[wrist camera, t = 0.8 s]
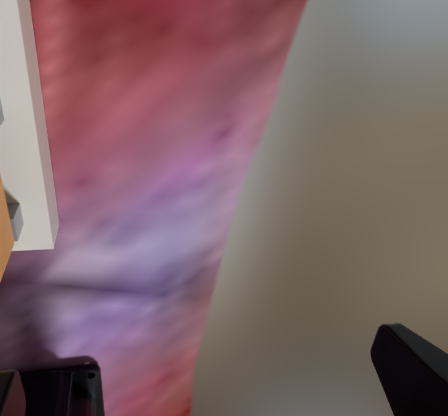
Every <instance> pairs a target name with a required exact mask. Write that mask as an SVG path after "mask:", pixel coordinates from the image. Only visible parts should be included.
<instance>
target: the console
mask: <svg viewBox="0 0 448 416" xmlns="http://www.w3.org/2000/svg"><path fill="white" fill-rule="evenodd" d="M0 174H1V179H2V184H3V189H4V193H5V198H6V203H7V208H8V213H9V218H10V223H11V228H12V233H13V238H14V242H15V243H14V246H13V249H12V251H22V250H41V249H54V245H55V241H56V236H57V232H58V227H59V218H58V211H57V203H56V196H55V188H54V181H53V173H52V166H51V158H50V151H49V143H48V136H47V128H46V121H45V114H44V106H43V99H42V91H41V84H40V76H39V69H38V61H37V54H36V46H35V39H34V31H33V24H32V17H31V9H30V2H29V0H0Z"/></svg>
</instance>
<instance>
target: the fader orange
mask: <svg viewBox="0 0 448 416" xmlns="http://www.w3.org/2000/svg"><path fill="white" fill-rule="evenodd" d="M14 243H15V242H14V238H13V233H12V228H11V223H10V218H9V213H8V208H7V203H6V198H5V193H4V189H3V184H2V179H1V174H0V282H1V279H2V276H3V273H4V271H5V268H6V265H7V262H8V260H9V257H10V254H11V251H12V249H13V246H14Z"/></svg>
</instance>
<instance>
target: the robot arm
mask: <svg viewBox="0 0 448 416" xmlns="http://www.w3.org/2000/svg"><path fill="white" fill-rule="evenodd" d="M371 359H372V362H373V365H374V367H375V369H376V372H377V374H378V377H379V379H380V382H381V384H382V387H383V389H384V392H385V394H386V397H387V399H388V402H389V404H390V407H391V409H392V411H393V414H394V416H448V354H447V353H446V352H444V351H443V350H441V349H439V348H438V347H436V346H434V345H433V344H432V343H430V342H428V341H427V340H425V339H424V338H422V337H421V336H419V335H417V334H416V333H414V332H413V331H411V330H410V329H408V328H407V327H405V326H403V325H402V324H399V323H388V324H382V325H381V326H379V328H378V330H377V333H376V336H375V339H374V341H373V344H372V347H371ZM0 416H105V412H104V401H103V391H102V380H101V370H100V367H99V366H98V365H95V364H90V365H82V366H73V367H64V368H56V369H47V370H39V371H30V372H21V373H19V372H18V371H17V370H15V369H11V370H2V371H0Z"/></svg>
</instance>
